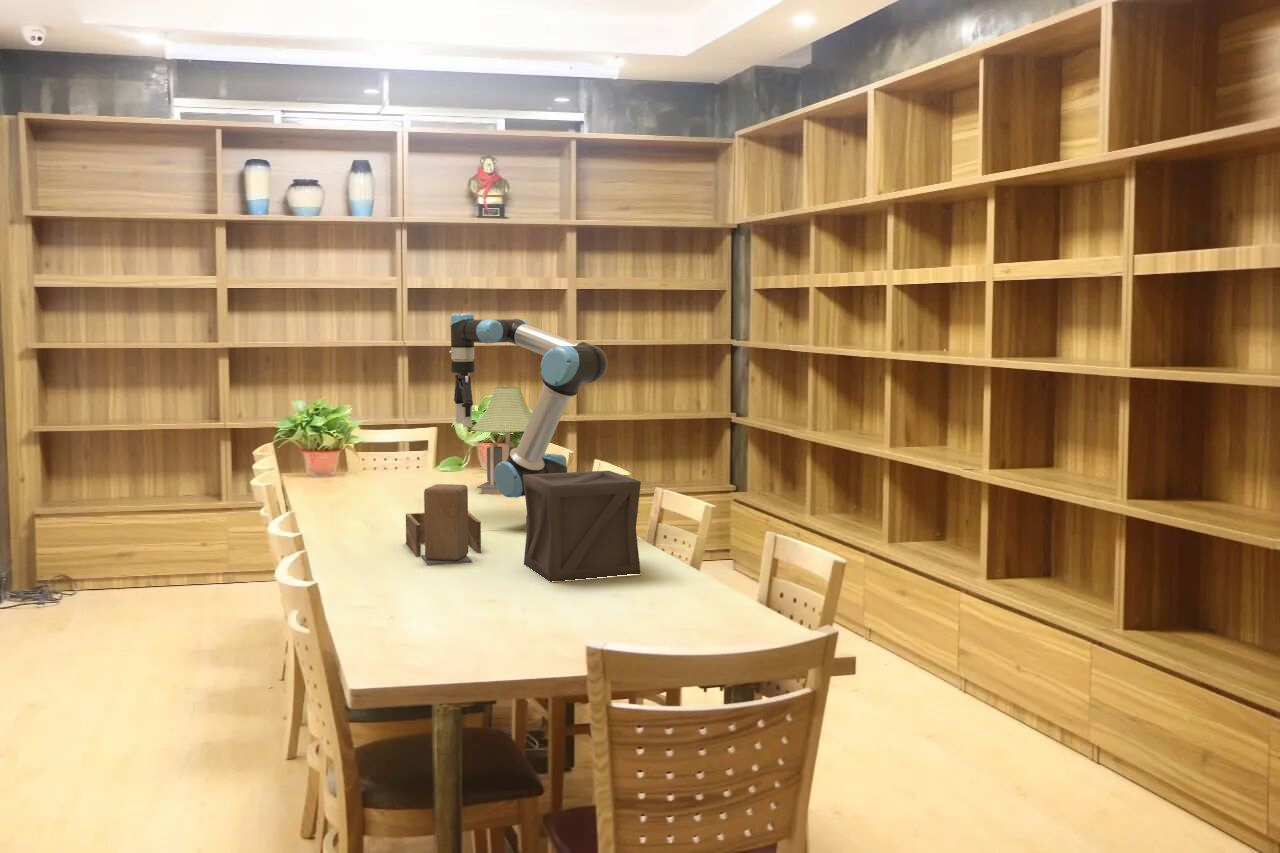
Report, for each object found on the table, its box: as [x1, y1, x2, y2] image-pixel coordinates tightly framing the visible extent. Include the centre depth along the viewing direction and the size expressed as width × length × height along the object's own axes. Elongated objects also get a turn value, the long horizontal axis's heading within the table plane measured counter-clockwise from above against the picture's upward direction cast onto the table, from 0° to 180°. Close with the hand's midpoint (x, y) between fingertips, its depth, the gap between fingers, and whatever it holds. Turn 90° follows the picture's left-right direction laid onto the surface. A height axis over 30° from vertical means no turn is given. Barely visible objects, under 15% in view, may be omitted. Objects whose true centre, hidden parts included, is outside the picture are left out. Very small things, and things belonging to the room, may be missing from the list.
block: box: [423, 483, 469, 561], centre depth 348 cm, size 10×10×20 cm
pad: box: [420, 554, 473, 566], centre depth 349 cm, size 12×12×1 cm
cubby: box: [405, 511, 482, 558], centre depth 366 cm, size 18×21×9 cm
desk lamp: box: [471, 386, 532, 495], centre depth 479 cm, size 26×28×40 cm
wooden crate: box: [523, 470, 642, 583], centre depth 334 cm, size 25×25×25 cm
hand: (463, 425), depth 412 cm, fingers open, 13 cm apart
